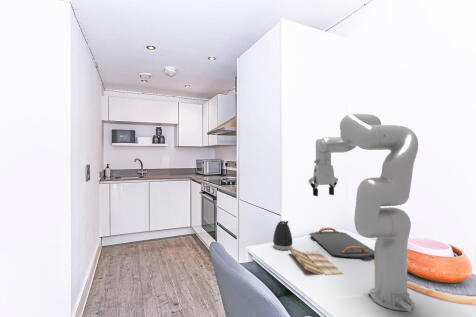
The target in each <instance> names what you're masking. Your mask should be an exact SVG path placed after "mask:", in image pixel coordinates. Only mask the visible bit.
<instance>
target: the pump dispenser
mask: <svg viewBox="0 0 476 317" xmlns="http://www.w3.org/2000/svg"><path fill="white" fill-rule="evenodd" d="M288 224H289V220H280V221H279V222H277V225H276V226H275V229H274V233H273V236H272V237H273V238H272V243H273V245H274V248H275V249H277V250H279V251H289V249H288V248H289V247H291V248H292V245H293V236H292V232H291V228H290V226H289V225H288Z"/></svg>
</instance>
